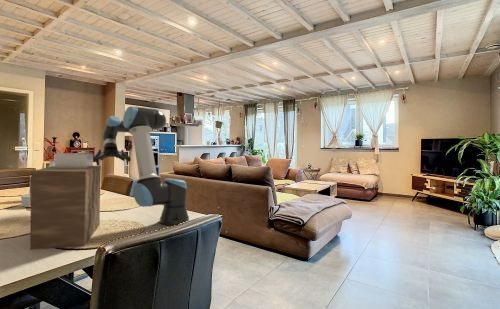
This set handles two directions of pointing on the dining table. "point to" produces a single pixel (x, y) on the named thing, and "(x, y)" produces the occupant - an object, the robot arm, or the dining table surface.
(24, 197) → the ramekin
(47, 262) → the dining table surface
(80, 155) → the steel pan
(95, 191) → the walnut cabinet
